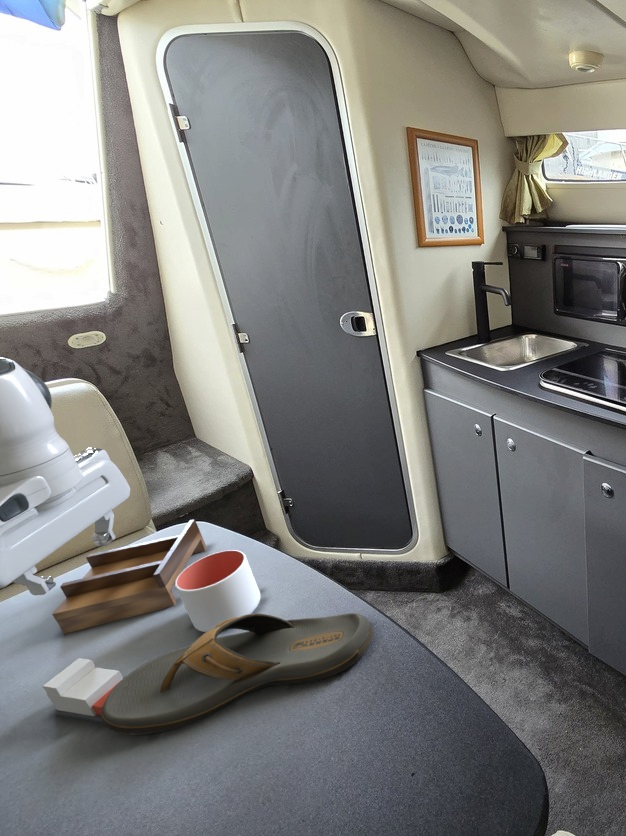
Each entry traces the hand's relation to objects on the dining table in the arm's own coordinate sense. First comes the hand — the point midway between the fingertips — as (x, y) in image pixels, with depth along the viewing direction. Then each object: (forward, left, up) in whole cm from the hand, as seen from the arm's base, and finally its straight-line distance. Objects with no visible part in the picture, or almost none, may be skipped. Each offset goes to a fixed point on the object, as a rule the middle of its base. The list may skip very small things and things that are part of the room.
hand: (77, 565), depth 68 cm
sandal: (+17, -6, -23) cm, 29 cm away
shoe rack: (-9, +25, -23) cm, 35 cm away
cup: (+9, +11, -23) cm, 27 cm away
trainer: (-4, -2, -23) cm, 23 cm away
